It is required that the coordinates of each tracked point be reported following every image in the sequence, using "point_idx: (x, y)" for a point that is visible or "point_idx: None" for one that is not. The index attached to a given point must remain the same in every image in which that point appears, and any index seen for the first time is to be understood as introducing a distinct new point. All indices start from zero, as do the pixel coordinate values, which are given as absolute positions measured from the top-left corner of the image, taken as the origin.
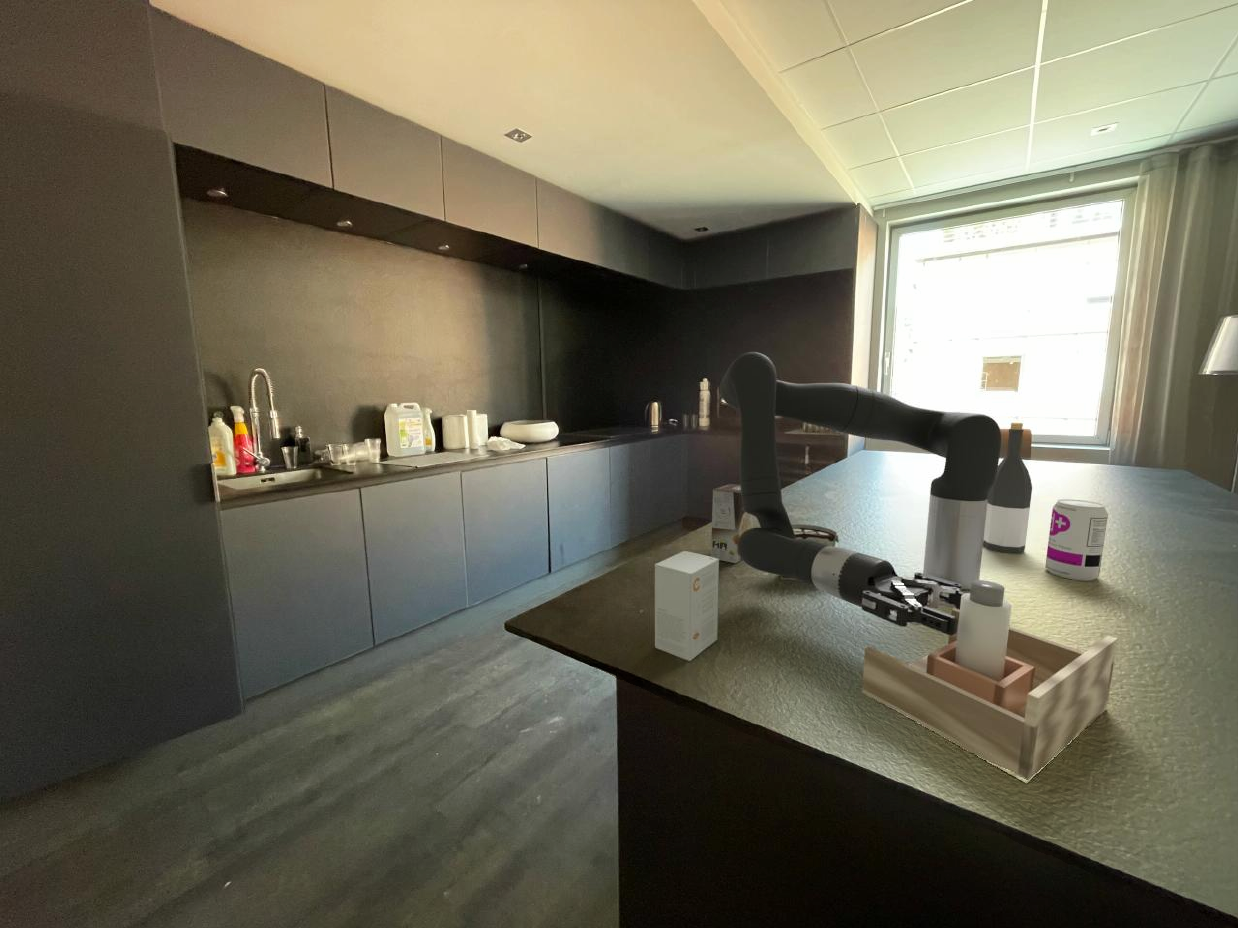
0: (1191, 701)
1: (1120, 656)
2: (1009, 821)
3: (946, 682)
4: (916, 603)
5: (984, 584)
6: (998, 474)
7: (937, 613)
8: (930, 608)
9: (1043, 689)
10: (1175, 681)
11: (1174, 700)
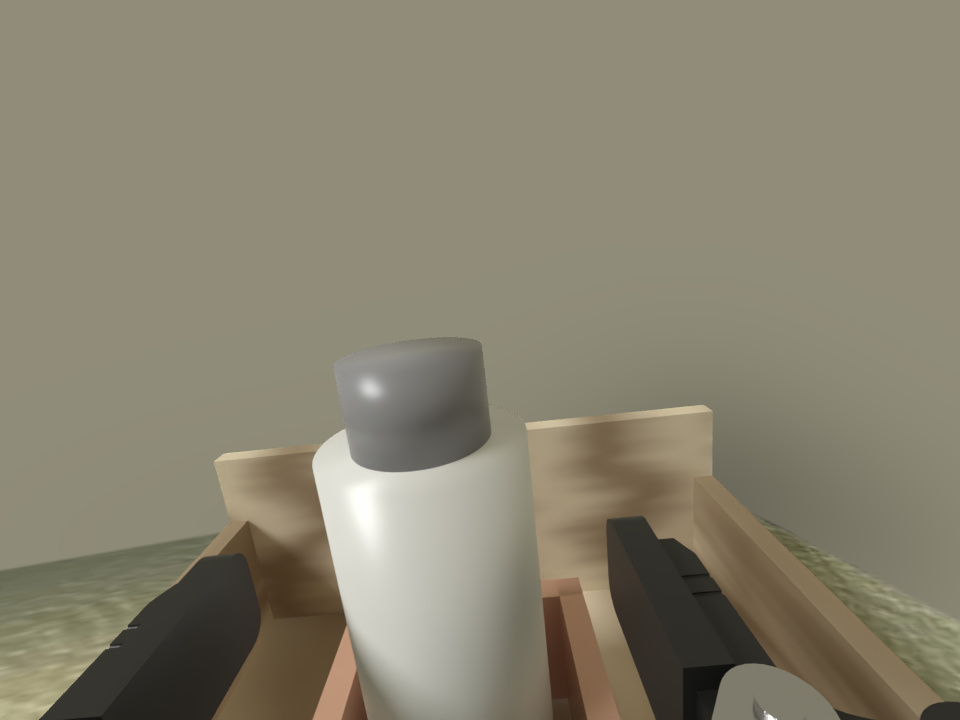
0: (130, 572)
1: None
2: (818, 554)
3: (815, 603)
4: (774, 703)
5: (409, 356)
6: None
7: (676, 576)
8: (675, 623)
9: (658, 412)
10: (25, 605)
11: (139, 583)
